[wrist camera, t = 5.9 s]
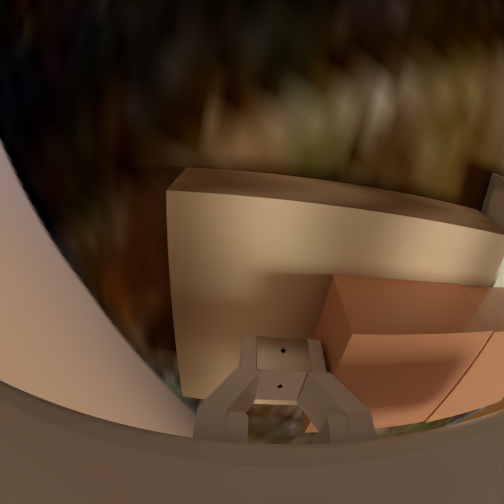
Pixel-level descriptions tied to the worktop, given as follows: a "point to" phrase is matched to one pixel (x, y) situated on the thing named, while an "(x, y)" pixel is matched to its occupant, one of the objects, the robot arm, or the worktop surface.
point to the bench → (298, 257)
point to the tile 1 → (398, 343)
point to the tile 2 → (480, 361)
